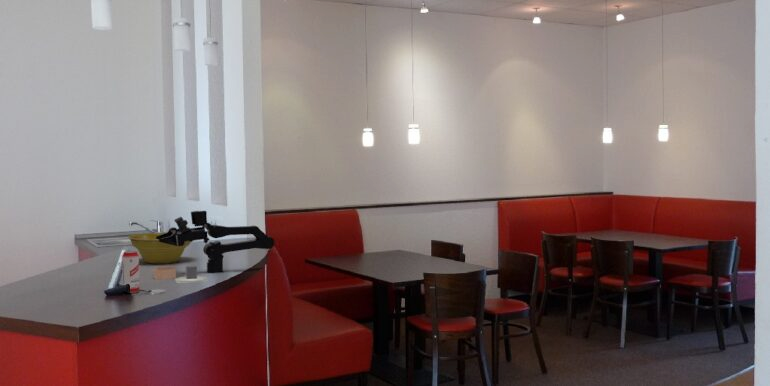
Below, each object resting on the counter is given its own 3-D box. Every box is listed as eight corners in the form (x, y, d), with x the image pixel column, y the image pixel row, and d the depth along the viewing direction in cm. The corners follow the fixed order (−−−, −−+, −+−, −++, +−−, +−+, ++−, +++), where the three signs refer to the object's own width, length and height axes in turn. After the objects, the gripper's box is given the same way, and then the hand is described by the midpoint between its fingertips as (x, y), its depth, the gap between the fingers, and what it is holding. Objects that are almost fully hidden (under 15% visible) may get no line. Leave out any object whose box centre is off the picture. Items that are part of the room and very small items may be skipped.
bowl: (174, 276, 322) (174, 266, 322) (176, 279, 313) (176, 269, 313) (153, 277, 319) (153, 267, 318) (154, 281, 310) (154, 270, 310)
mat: (204, 278, 318) (204, 276, 318) (209, 282, 306) (209, 281, 306) (174, 279, 313) (174, 278, 313) (177, 284, 301) (177, 283, 301)
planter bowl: (207, 260, 374) (207, 234, 374) (157, 268, 347) (157, 240, 346) (165, 256, 391) (164, 231, 391) (114, 263, 364) (114, 236, 364)
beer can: (142, 291, 286) (142, 251, 285) (132, 294, 280) (131, 252, 279) (129, 290, 288) (129, 250, 287) (119, 293, 282) (118, 252, 281)
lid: (203, 277, 317) (203, 263, 317) (207, 281, 306) (207, 267, 306) (175, 278, 313) (175, 265, 313) (178, 283, 302) (178, 269, 301)
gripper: (187, 214, 335) (152, 218, 329) (195, 219, 318) (158, 223, 312) (190, 238, 337) (155, 243, 330) (197, 244, 320) (161, 249, 313)
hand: (157, 239), depth 321 cm, fingers open, 9 cm apart
